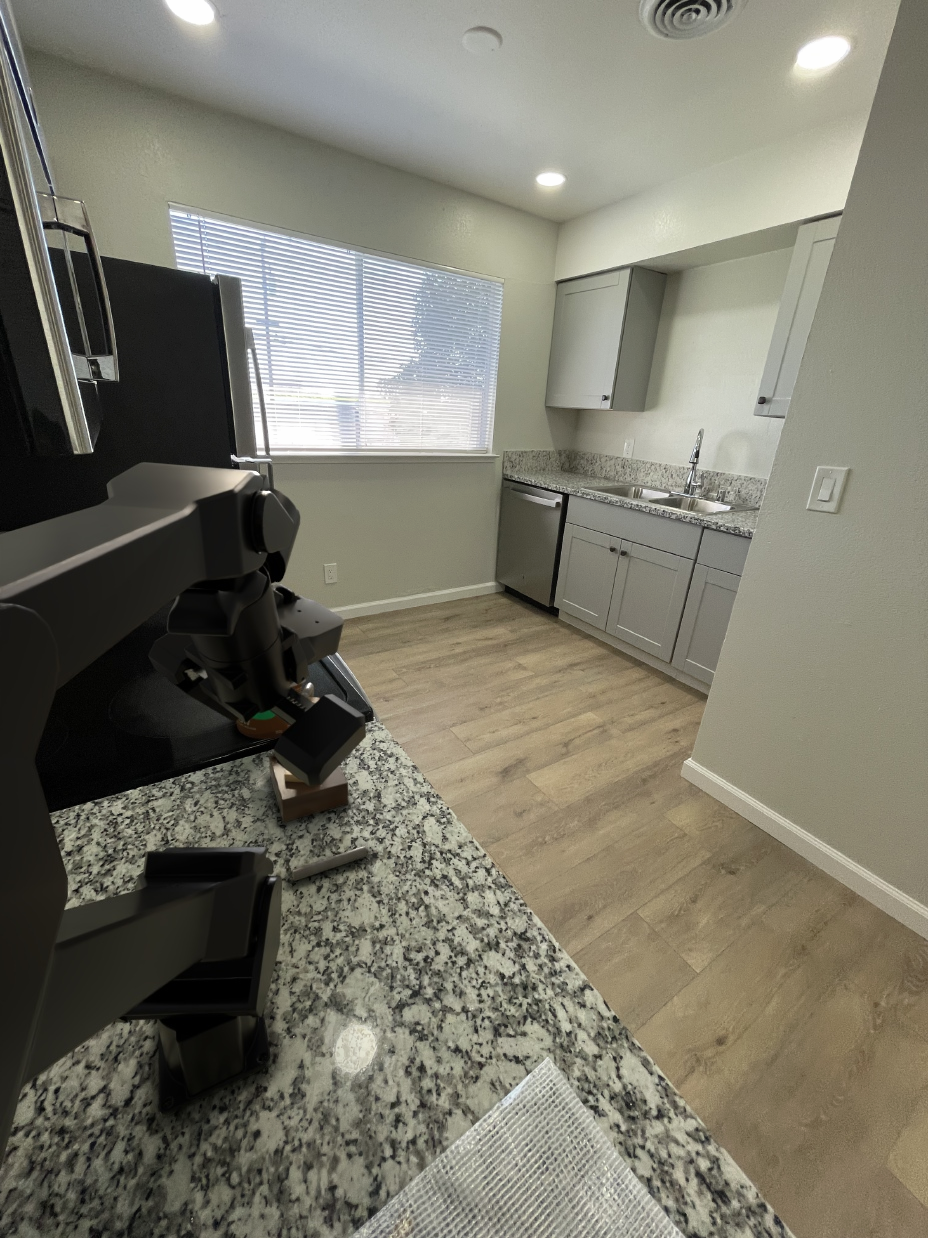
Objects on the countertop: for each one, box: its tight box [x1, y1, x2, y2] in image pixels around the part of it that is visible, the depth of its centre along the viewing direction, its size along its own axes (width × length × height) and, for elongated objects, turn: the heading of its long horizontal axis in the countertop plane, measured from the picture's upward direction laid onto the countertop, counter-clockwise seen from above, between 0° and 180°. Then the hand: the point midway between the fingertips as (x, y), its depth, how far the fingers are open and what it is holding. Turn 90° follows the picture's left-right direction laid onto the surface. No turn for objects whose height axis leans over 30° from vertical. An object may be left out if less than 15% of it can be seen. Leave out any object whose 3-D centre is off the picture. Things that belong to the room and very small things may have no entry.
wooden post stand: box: [284, 682, 321, 782], centre depth 56 cm, size 5×4×10 cm
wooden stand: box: [268, 749, 368, 882], centre depth 55 cm, size 16×8×4 cm, turn 29°
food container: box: [235, 678, 307, 740], centre depth 67 cm, size 12×6×10 cm, turn 62°
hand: (272, 743), depth 47 cm, fingers open, 9 cm apart
